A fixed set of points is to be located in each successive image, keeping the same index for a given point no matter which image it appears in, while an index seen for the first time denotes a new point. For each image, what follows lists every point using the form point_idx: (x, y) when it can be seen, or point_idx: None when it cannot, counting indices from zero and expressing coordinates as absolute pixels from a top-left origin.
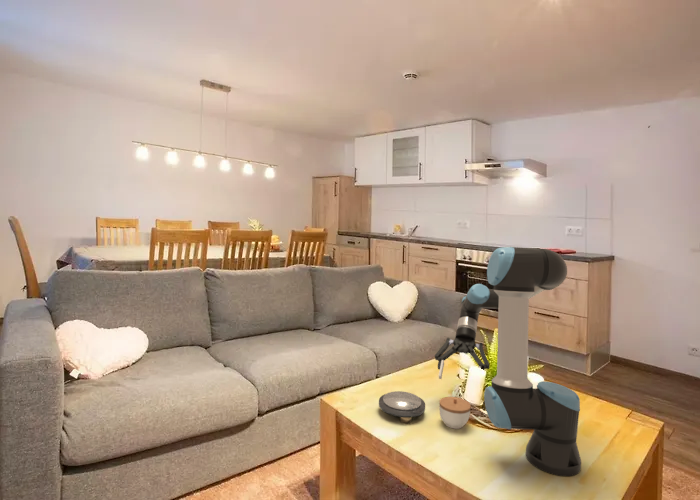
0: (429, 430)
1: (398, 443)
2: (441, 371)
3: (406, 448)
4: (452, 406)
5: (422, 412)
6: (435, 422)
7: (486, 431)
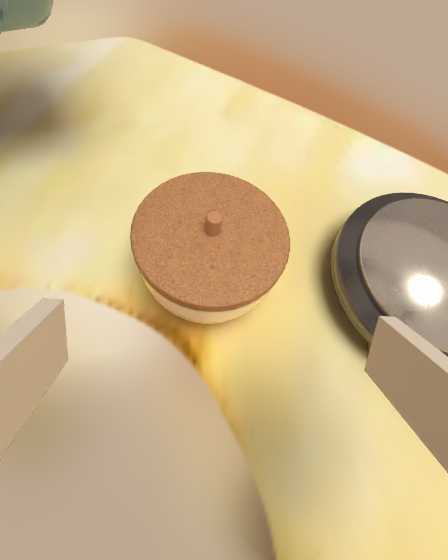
0: None
1: (329, 133)
2: (405, 338)
3: (303, 120)
4: (219, 193)
5: (333, 251)
6: None
7: (74, 276)
